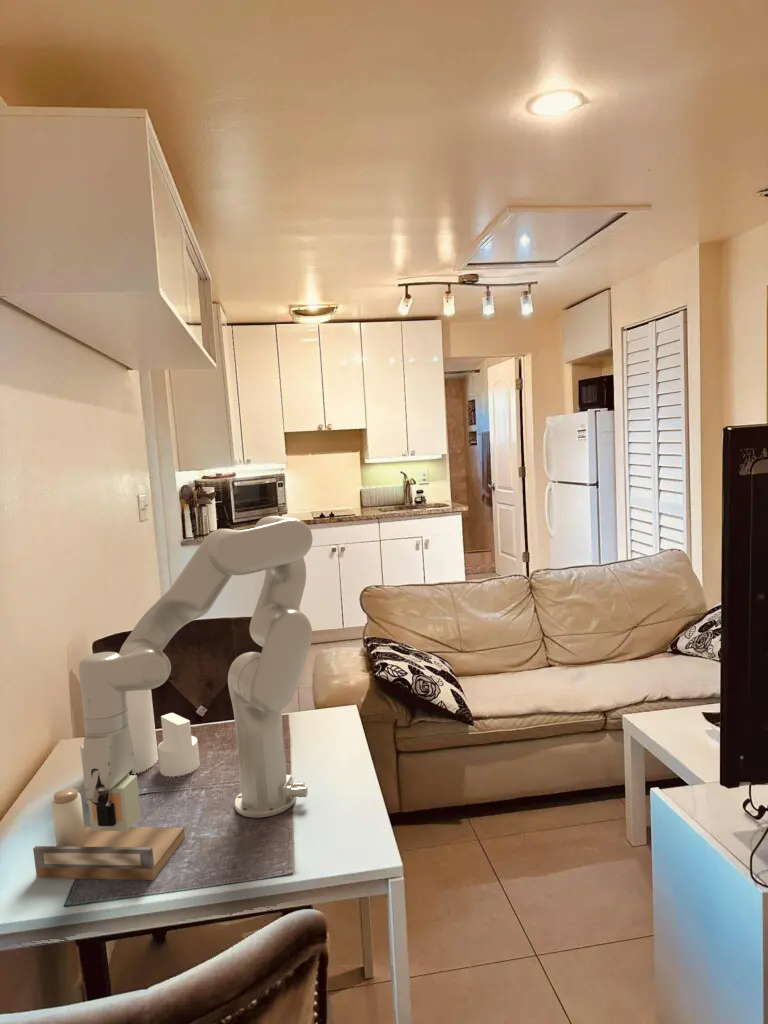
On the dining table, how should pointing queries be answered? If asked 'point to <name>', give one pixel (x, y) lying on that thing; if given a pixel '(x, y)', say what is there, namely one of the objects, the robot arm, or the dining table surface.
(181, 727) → the base with upright slab
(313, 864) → the dining table surface
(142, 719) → the canister
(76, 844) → the jar
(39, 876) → the shelf
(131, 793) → the carton
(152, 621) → the robot arm
